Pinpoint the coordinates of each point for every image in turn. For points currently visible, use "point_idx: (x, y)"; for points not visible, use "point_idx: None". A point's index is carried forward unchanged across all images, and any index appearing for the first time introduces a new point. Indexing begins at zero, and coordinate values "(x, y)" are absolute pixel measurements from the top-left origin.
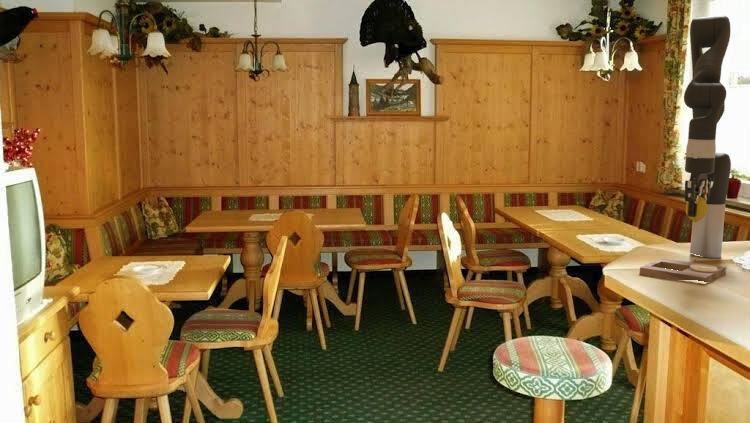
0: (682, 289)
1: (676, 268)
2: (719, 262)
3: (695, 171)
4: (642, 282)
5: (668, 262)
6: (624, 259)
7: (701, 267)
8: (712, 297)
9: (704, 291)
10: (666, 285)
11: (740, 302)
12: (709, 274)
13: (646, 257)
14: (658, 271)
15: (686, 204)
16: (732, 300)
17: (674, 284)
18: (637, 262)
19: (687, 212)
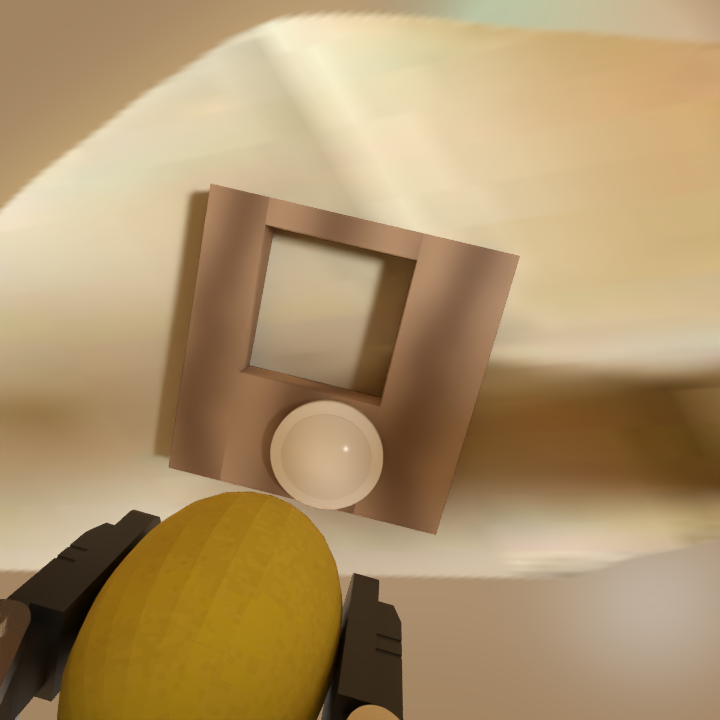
0: (62, 387)
1: (398, 331)
2: (688, 489)
3: None
4: (77, 230)
5: (409, 294)
6: (546, 41)
7: (297, 451)
8: (15, 485)
9: (82, 458)
10: (87, 326)
11: (9, 562)
12: (240, 478)
13: (663, 146)
14: (198, 275)
15: (162, 554)
16: (18, 541)
17: (123, 352)
18: (496, 127)
19: (169, 517)
